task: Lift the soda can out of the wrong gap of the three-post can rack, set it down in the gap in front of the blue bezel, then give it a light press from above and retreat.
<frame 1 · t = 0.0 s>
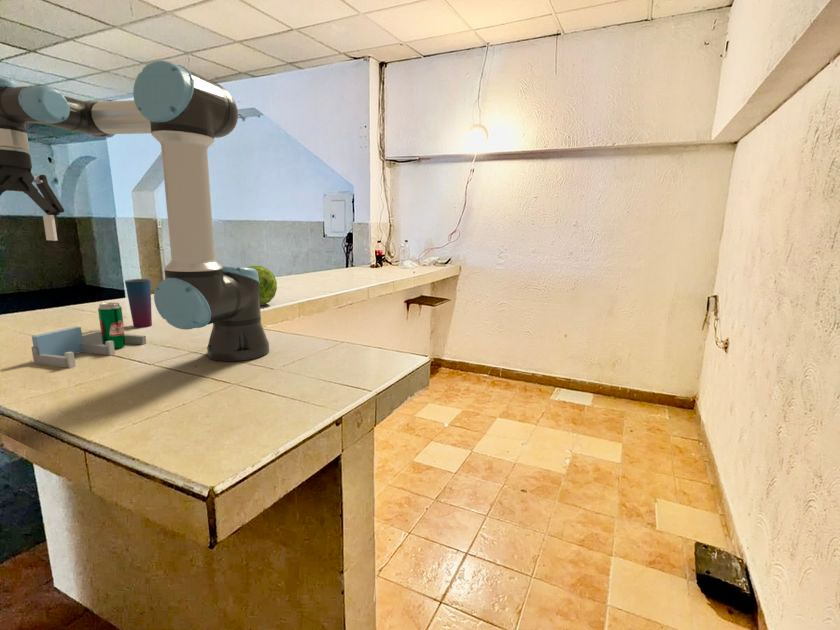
hand: (23, 241, 105), 28 cm above the worktop, fingers open, 13 cm apart
green watermelon: (253, 303, 182), on the worktop
cup: (142, 326, 139), on the worktop
three-post can rack: (96, 352, 110), on the worktop
soda can: (114, 348, 115), on the worktop
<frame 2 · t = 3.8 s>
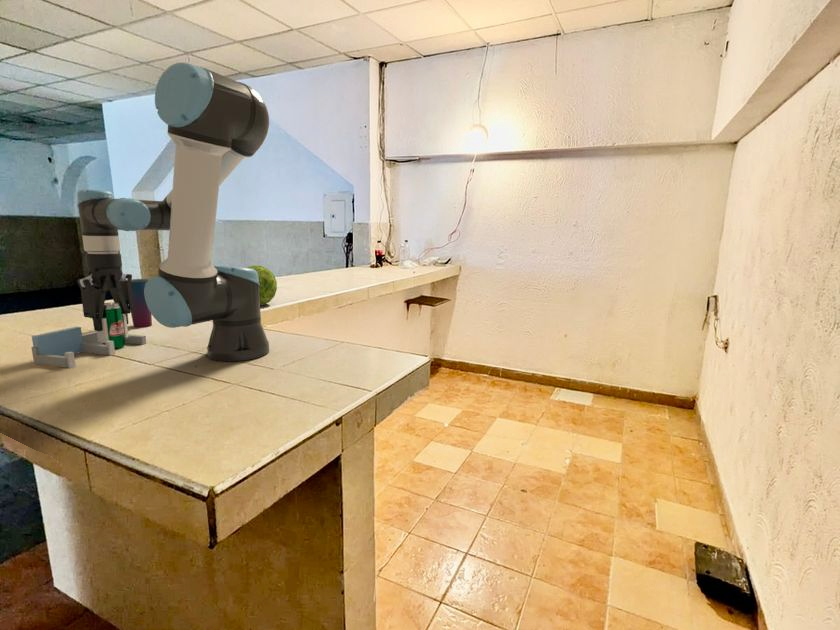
hand: (113, 339, 114), 2 cm above the worktop, fingers closed on soda can, 5 cm apart
soda can: (114, 348, 115), on the worktop, touching gripper
everything else where it was.
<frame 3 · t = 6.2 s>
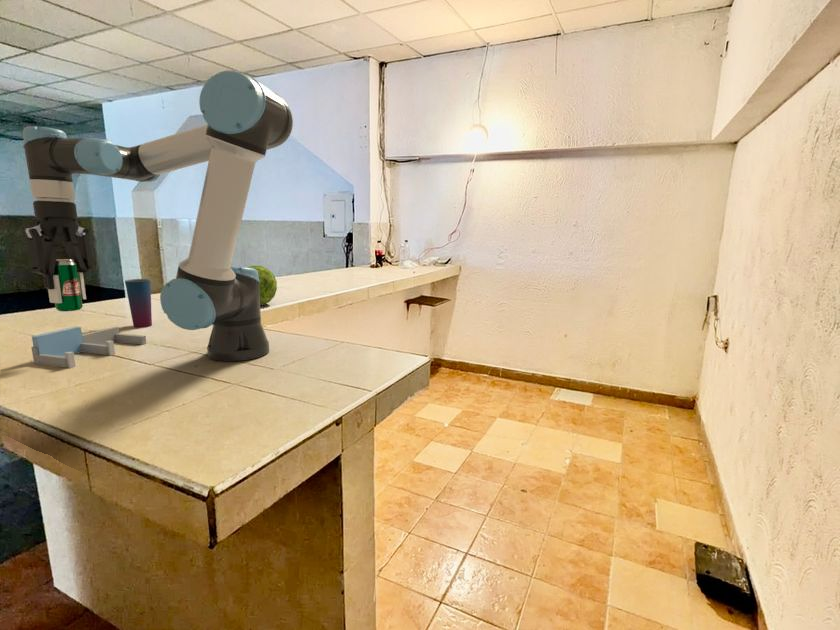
hand: (68, 300, 102), 15 cm above the worktop, fingers closed on soda can, 5 cm apart
soda can: (69, 310, 103), point 12 cm above the worktop, touching gripper
everything else where it was.
when the fingers open (4 cm above the worktop, at t = 8.7 s): soda can drops 1 cm, on the worktop.
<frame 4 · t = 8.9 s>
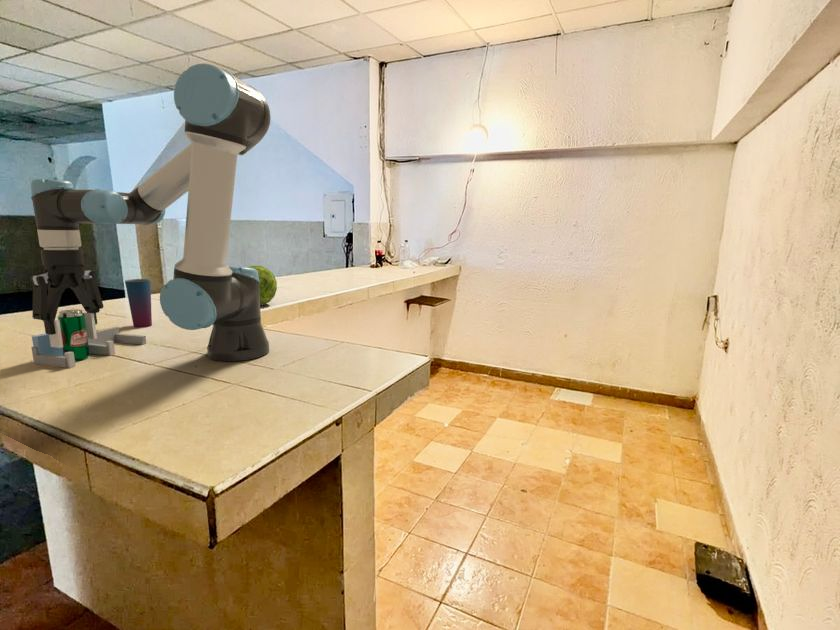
hand: (74, 342, 104), 4 cm above the worktop, fingers open, 8 cm apart
soda can: (77, 359, 105), on the worktop
everything else where it was.
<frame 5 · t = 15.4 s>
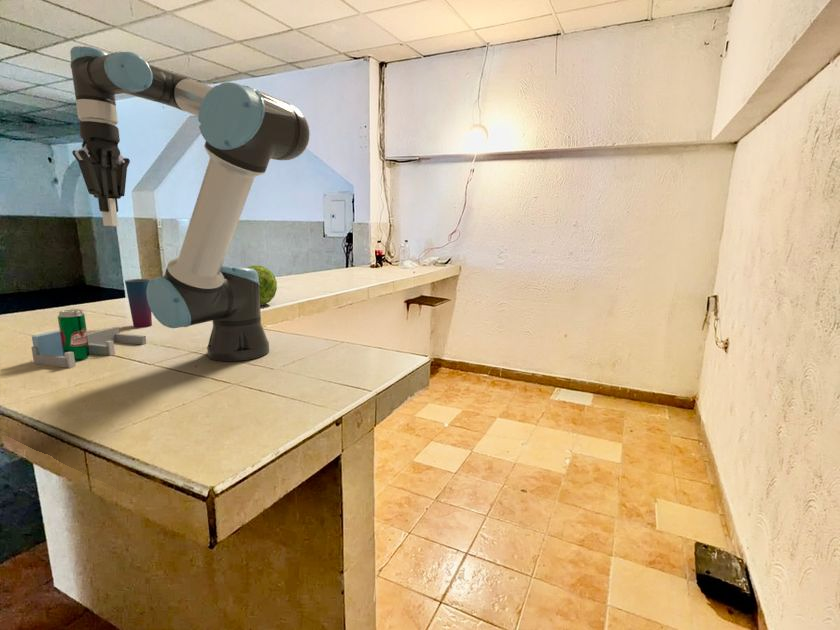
hand: (110, 225, 105), 32 cm above the worktop, fingers closed
nothing on the worktop moved.
at the end: soda can inside the target area on the three-post can rack (0.1 cm from its centre), point 0.0 cm above the three-post can rack's base; soda can tilted 0°; the gripper is holding nothing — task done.
